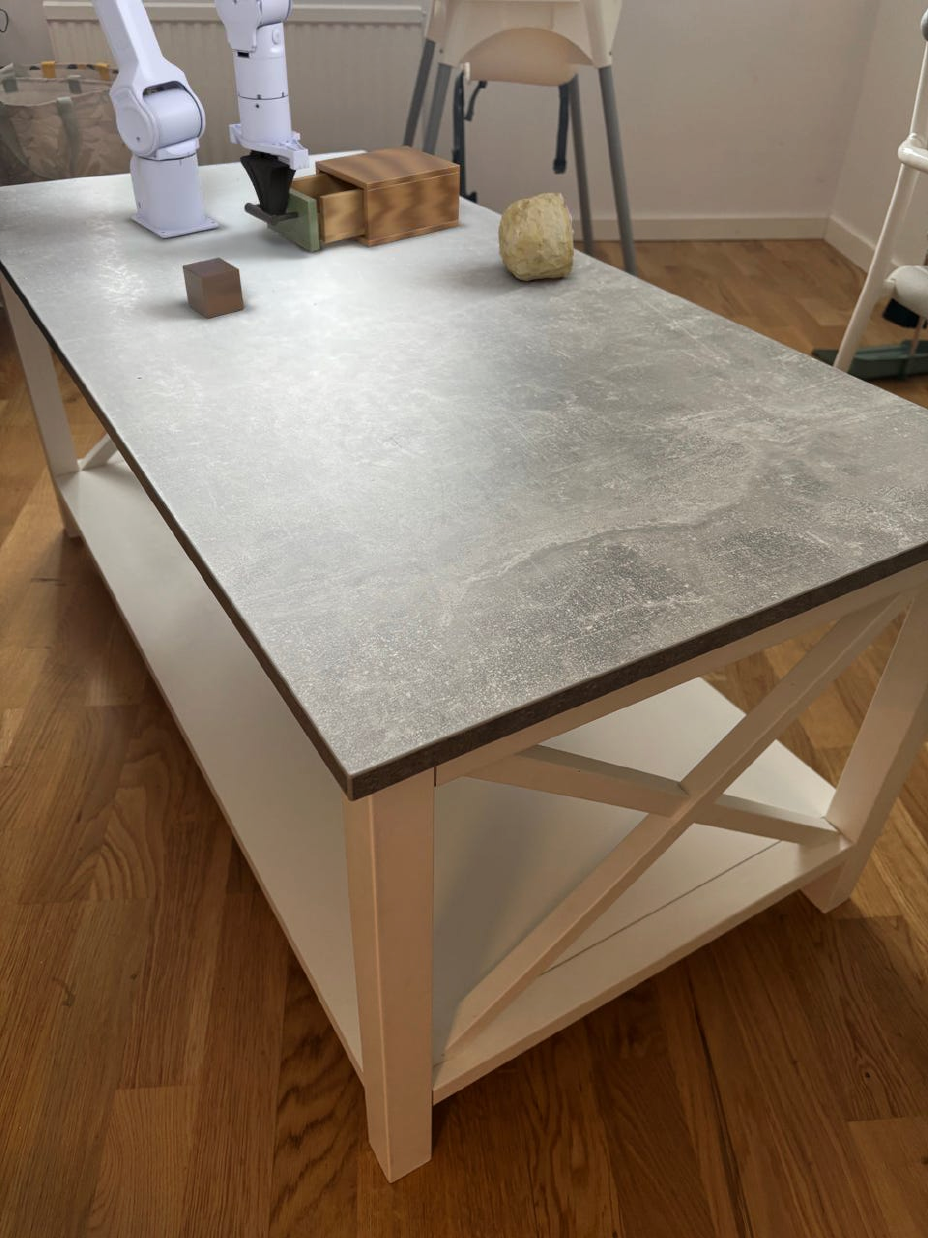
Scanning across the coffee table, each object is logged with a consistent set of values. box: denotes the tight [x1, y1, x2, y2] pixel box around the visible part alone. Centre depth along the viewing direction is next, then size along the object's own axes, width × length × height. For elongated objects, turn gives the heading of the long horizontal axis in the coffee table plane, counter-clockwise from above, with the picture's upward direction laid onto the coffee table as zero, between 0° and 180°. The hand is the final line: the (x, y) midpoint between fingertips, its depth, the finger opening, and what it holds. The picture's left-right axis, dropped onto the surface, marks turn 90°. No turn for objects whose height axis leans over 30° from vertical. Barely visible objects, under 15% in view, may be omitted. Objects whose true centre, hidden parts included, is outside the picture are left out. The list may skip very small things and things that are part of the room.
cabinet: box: [314, 145, 461, 248], centre depth 125 cm, size 15×12×8 cm
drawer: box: [243, 172, 365, 252], centre depth 120 cm, size 18×10×6 cm, turn 129°
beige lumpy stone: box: [497, 192, 575, 282], centre depth 112 cm, size 10×10×10 cm
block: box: [182, 257, 245, 319], centre depth 103 cm, size 4×4×4 cm
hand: (274, 218), depth 117 cm, fingers closed, pressing on drawer
